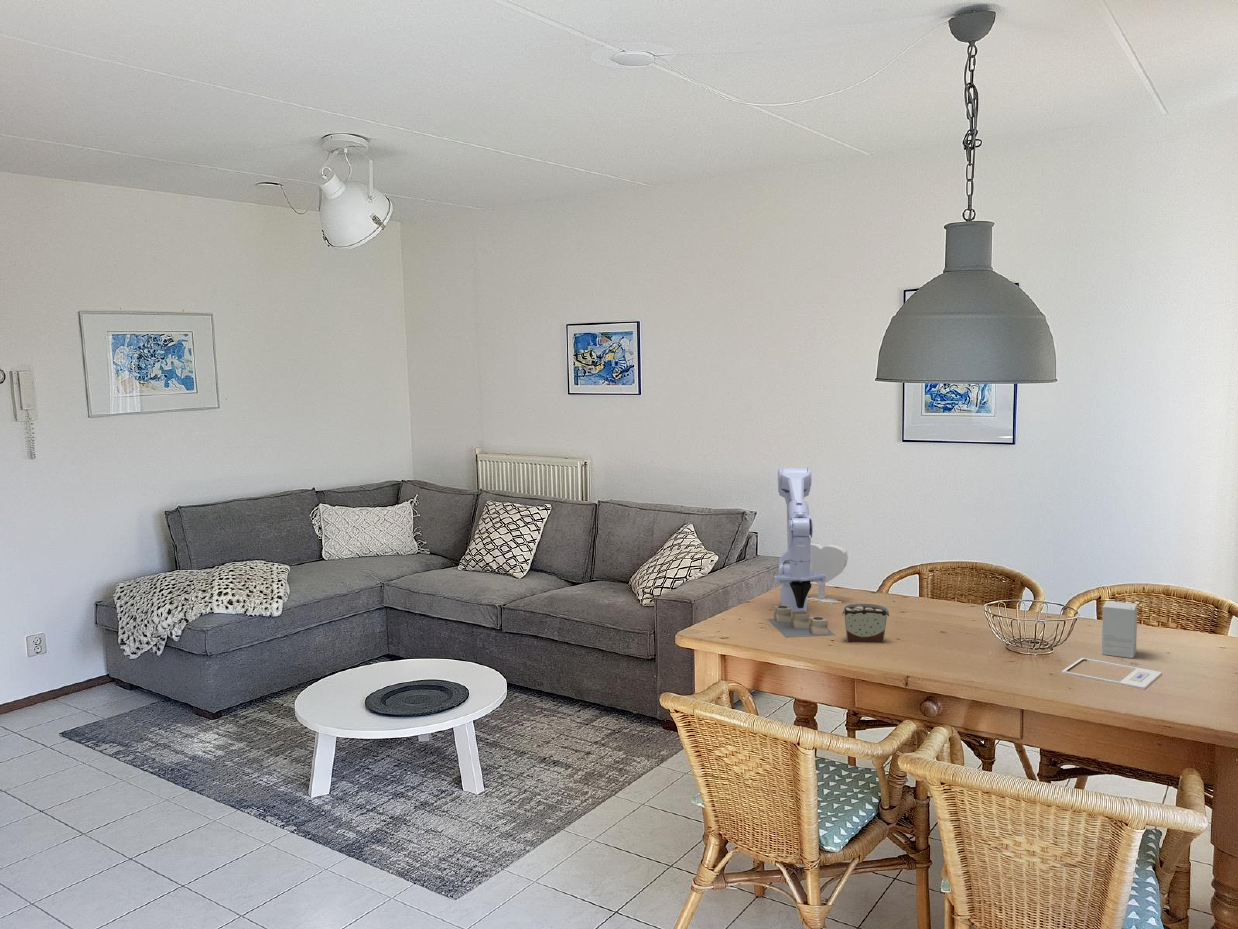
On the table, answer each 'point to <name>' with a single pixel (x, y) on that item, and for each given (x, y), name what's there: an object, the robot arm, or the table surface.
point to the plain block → (799, 619)
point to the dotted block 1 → (782, 614)
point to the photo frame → (1134, 679)
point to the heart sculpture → (827, 565)
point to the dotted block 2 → (818, 625)
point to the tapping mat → (794, 630)
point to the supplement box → (1119, 629)
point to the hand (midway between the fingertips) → (800, 607)
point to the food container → (865, 622)
